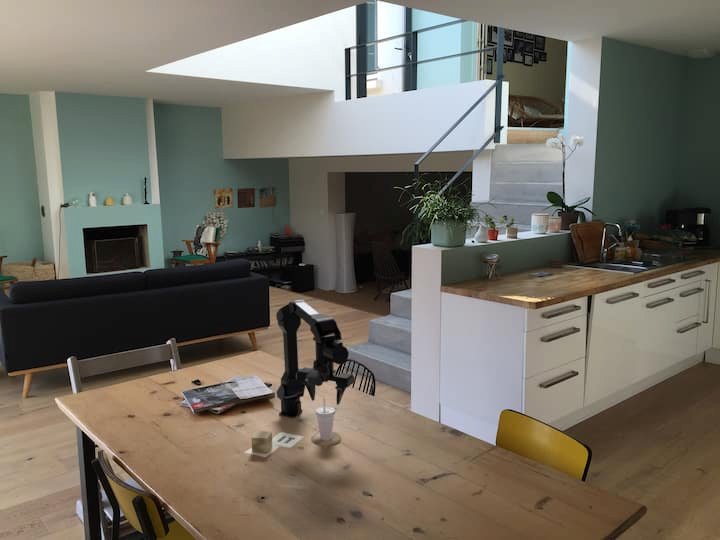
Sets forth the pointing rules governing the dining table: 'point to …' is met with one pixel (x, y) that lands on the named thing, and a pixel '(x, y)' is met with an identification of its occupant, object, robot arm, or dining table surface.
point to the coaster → (334, 440)
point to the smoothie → (325, 421)
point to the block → (261, 442)
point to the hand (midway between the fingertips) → (325, 402)
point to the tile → (263, 453)
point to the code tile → (286, 439)
